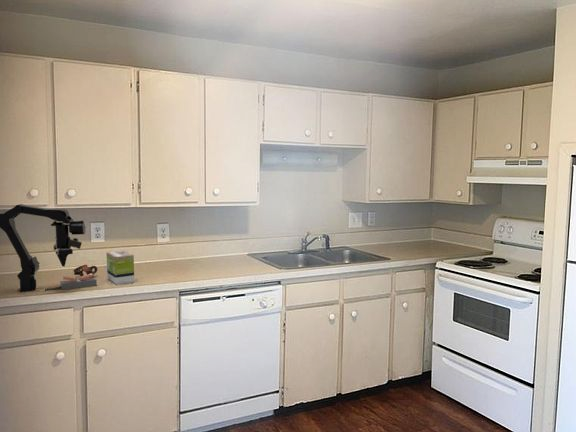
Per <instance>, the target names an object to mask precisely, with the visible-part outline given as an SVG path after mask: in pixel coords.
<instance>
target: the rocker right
mask: <svg viewBox="0 0 576 432" xmlns="http://www.w3.org/2000/svg"><path fill="white" fill-rule="evenodd" d="M89 277H93V278H94V275H93V274H92V273H91V274H88V275H87V274H85V275H83V276H79V279H81V280H83V279H86V278H89Z"/></svg>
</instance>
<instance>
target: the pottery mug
mask: <svg viewBox="0 0 576 432" xmlns="http://www.w3.org/2000/svg"><path fill="white" fill-rule="evenodd" d="M93 269H94V270H93ZM83 272H84V273H86V275H88V274H91V273H92V274H93V277H89V278H94V275H95V274H97V272H98V267H97V266H96V265H91V266H88V264H83V265H80V266H78V267H76V268H74V269H73V275H74V276H79V277H81V276H85V275H84V273H83Z"/></svg>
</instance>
